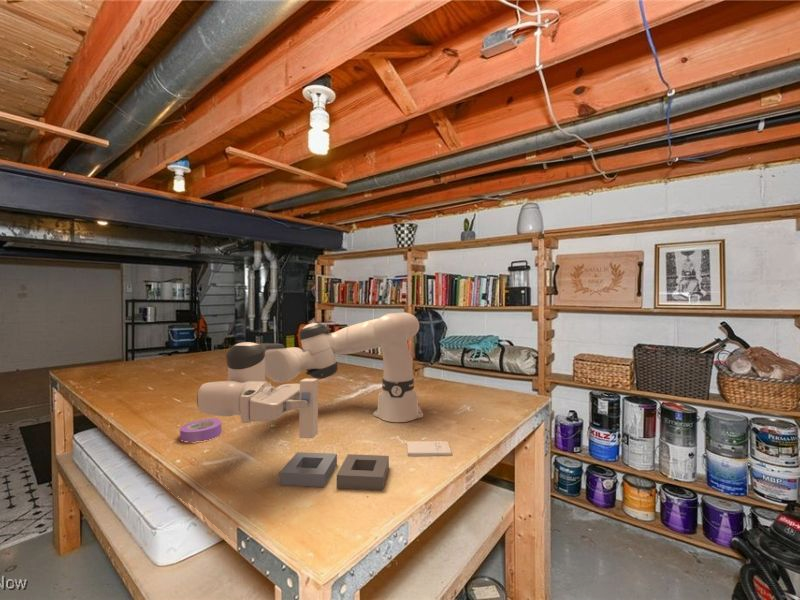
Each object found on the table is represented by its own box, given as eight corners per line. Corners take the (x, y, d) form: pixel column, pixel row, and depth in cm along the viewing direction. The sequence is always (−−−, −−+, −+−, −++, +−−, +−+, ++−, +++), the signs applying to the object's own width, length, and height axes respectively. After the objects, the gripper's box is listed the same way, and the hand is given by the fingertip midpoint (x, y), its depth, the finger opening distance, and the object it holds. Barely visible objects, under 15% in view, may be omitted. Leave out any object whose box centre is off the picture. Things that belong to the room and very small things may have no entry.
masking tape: (177, 446, 106) (177, 434, 106) (183, 433, 117) (183, 421, 117) (220, 440, 111) (220, 428, 111) (222, 427, 121) (222, 416, 121)
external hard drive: (406, 446, 107) (447, 445, 107) (407, 458, 99) (451, 457, 99) (406, 440, 107) (447, 440, 107) (407, 452, 99) (451, 452, 99)
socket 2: (347, 465, 93) (347, 454, 93) (388, 467, 92) (388, 455, 92) (336, 487, 82) (336, 475, 82) (382, 490, 81) (382, 477, 81)
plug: (304, 433, 90) (305, 378, 91) (317, 433, 90) (318, 378, 90) (297, 439, 86) (298, 381, 86) (311, 439, 86) (312, 382, 86)
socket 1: (297, 463, 95) (297, 452, 95) (336, 464, 94) (336, 453, 94) (279, 484, 84) (279, 472, 84) (324, 487, 83) (324, 474, 83)
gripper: (277, 399, 100) (324, 400, 99) (237, 425, 80) (296, 427, 78) (277, 377, 100) (324, 378, 98) (237, 398, 79) (295, 399, 78)
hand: (311, 400), depth 88 cm, fingers closed on plug, 4 cm apart
